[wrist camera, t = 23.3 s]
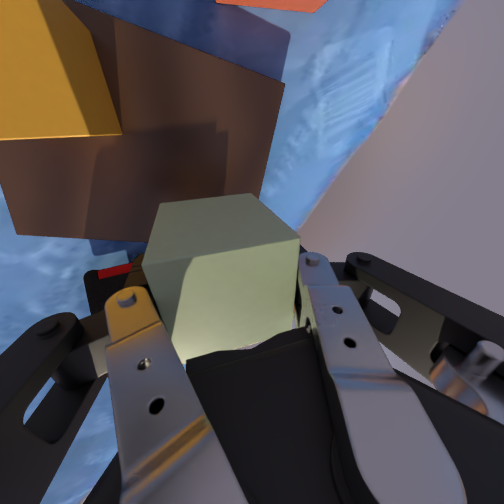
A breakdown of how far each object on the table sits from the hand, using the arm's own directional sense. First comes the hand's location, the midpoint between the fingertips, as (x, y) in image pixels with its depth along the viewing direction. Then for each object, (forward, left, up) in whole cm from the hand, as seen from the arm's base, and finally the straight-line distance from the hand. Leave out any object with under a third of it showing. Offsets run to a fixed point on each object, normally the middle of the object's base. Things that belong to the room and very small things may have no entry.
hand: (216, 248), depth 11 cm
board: (-4, +3, -9) cm, 10 cm away
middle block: (0, 0, -1) cm, 1 cm away
